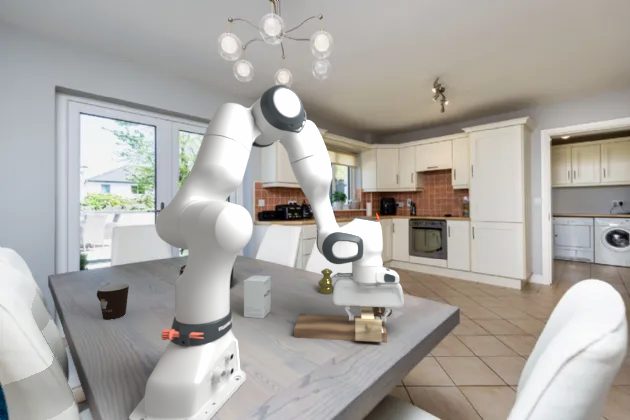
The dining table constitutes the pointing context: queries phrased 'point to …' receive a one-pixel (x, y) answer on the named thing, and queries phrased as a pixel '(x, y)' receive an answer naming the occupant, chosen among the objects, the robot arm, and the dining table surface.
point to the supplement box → (257, 296)
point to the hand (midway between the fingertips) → (367, 320)
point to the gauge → (368, 326)
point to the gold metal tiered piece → (326, 282)
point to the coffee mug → (113, 300)
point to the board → (329, 327)
